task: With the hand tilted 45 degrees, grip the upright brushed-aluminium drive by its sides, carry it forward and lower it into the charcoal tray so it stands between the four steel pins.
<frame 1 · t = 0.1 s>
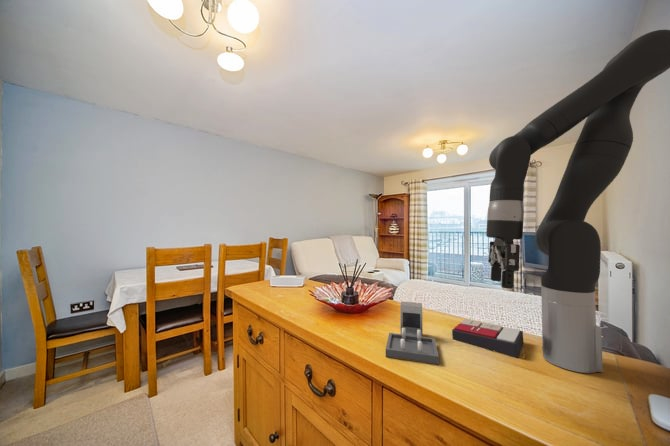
hand: (500, 284, 62), 17 cm above the table, tool pointing down, fingers open, 8 cm apart
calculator: (487, 343, 69), on the table
tray: (411, 350, 63), on the table
drive: (411, 334, 73), on the table
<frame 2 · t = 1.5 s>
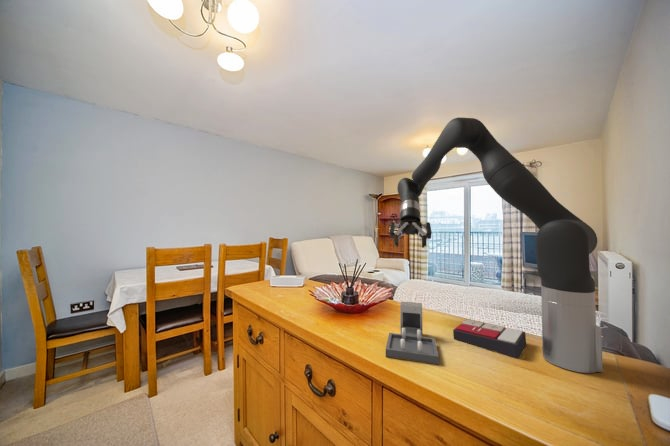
hand: (410, 245, 85), 25 cm above the table, tool tilted 45°, fingers open, 8 cm apart
nothing on the table moved.
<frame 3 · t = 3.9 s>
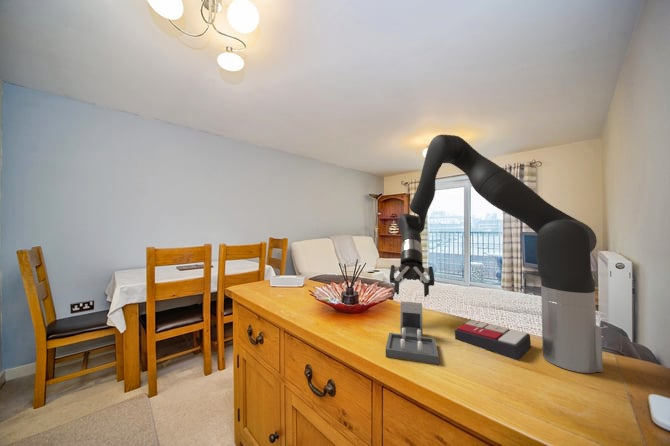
hand: (411, 294, 79), 10 cm above the table, tool tilted 45°, fingers open, 8 cm apart
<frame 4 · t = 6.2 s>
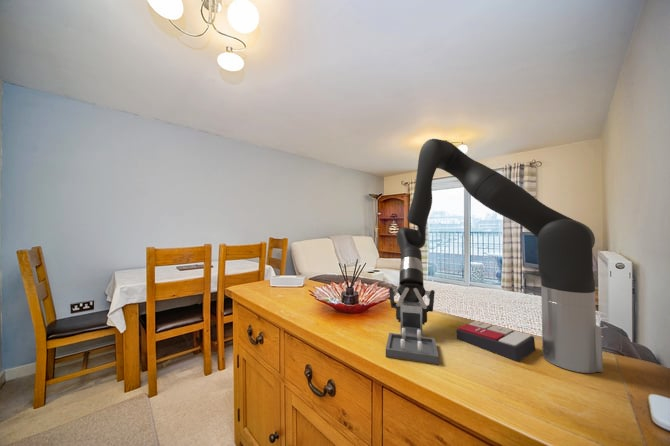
hand: (411, 321, 71), 4 cm above the table, tool tilted 45°, fingers closed on drive, 6 cm apart
drive: (411, 334, 73), on the table, touching gripper
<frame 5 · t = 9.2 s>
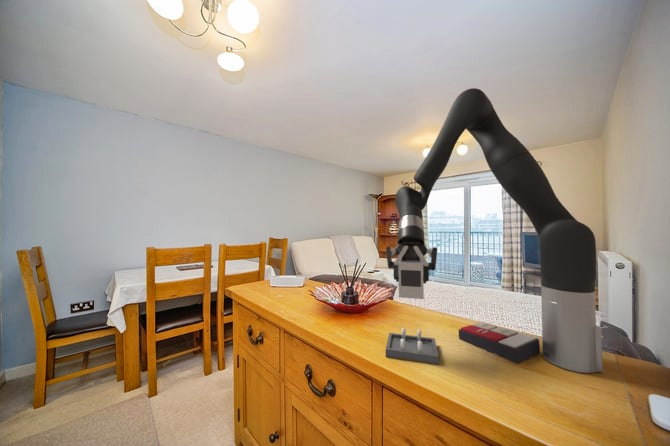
hand: (410, 280, 63), 18 cm above the table, tool tilted 45°, fingers closed on drive, 6 cm apart
drive: (411, 296, 64), point 14 cm above the table, touching gripper
when the fingers open (7 cm above the table, at t = 12.6 s): drive drops 1 cm, resting on tray.
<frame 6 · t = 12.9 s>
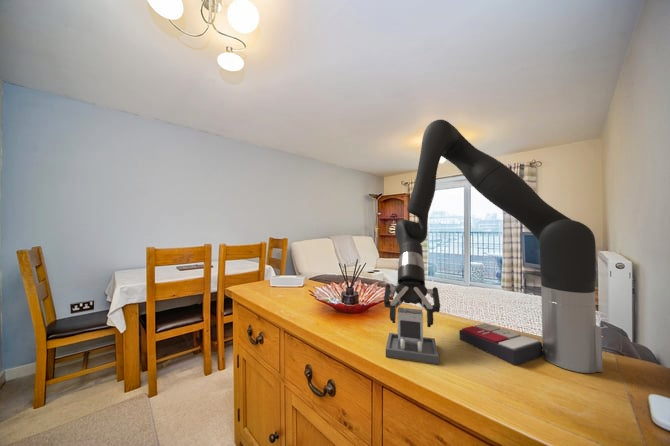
hand: (411, 323, 62), 7 cm above the table, tool tilted 45°, fingers open, 8 cm apart
drive: (410, 346, 64), point 1 cm above the table, touching tray
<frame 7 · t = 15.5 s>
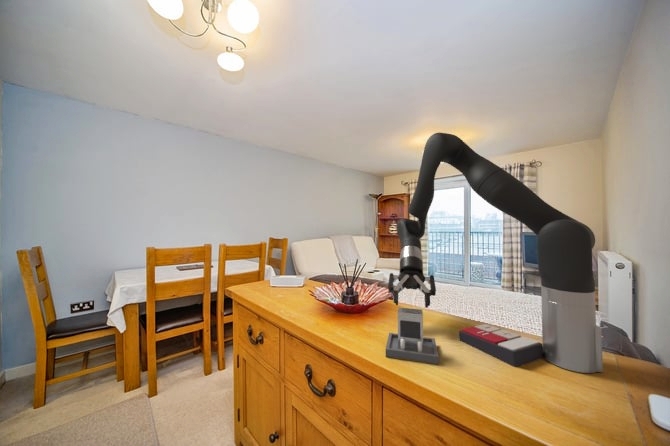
hand: (411, 305, 74), 8 cm above the table, tool tilted 45°, fingers open, 8 cm apart
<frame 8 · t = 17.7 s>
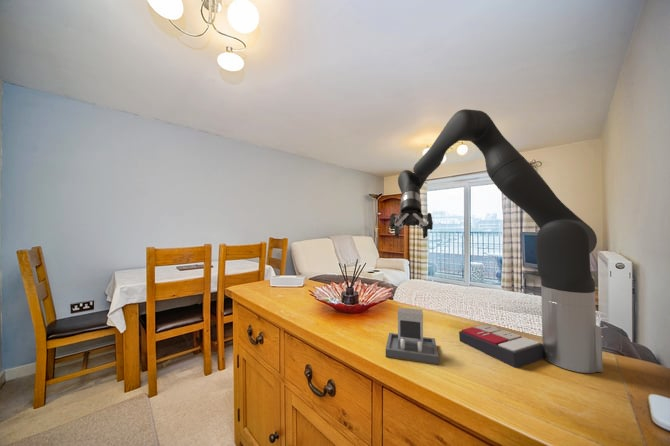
hand: (410, 236, 83), 29 cm above the table, tool tilted 45°, fingers open, 8 cm apart
at the end: drive 0.3 cm off-centre on the tray, point 1.0 cm above the tray's base; drive tilted 0°; the gripper is holding nothing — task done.
